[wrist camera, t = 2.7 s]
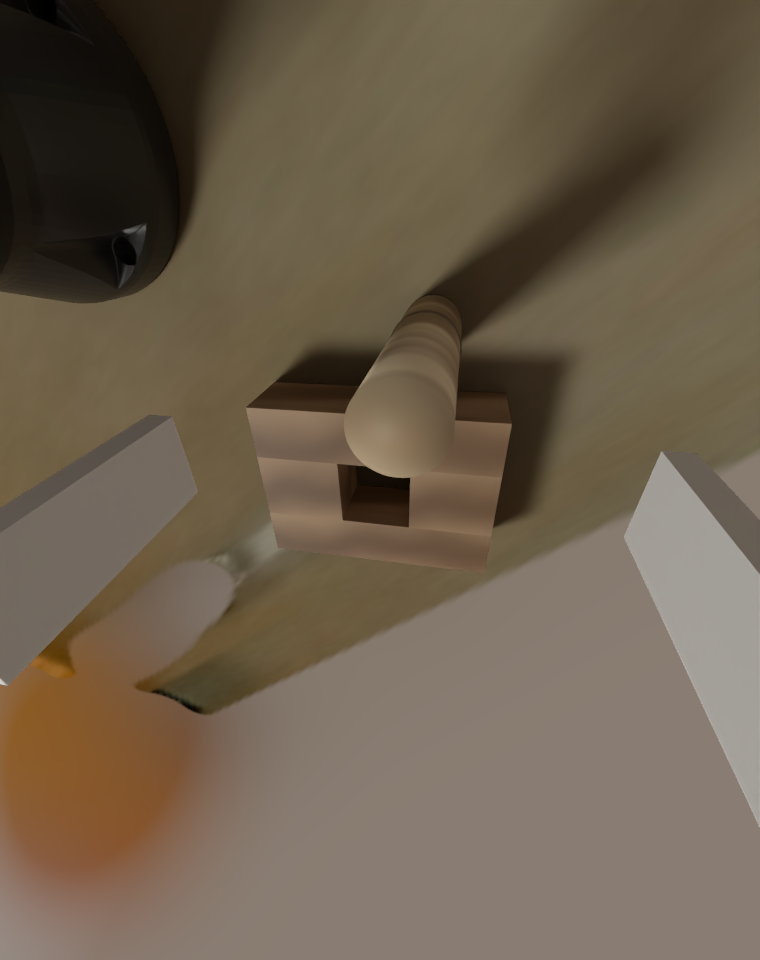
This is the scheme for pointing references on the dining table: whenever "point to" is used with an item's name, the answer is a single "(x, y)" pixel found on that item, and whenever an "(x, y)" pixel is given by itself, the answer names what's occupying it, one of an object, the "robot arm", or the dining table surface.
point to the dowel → (410, 394)
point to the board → (378, 510)
